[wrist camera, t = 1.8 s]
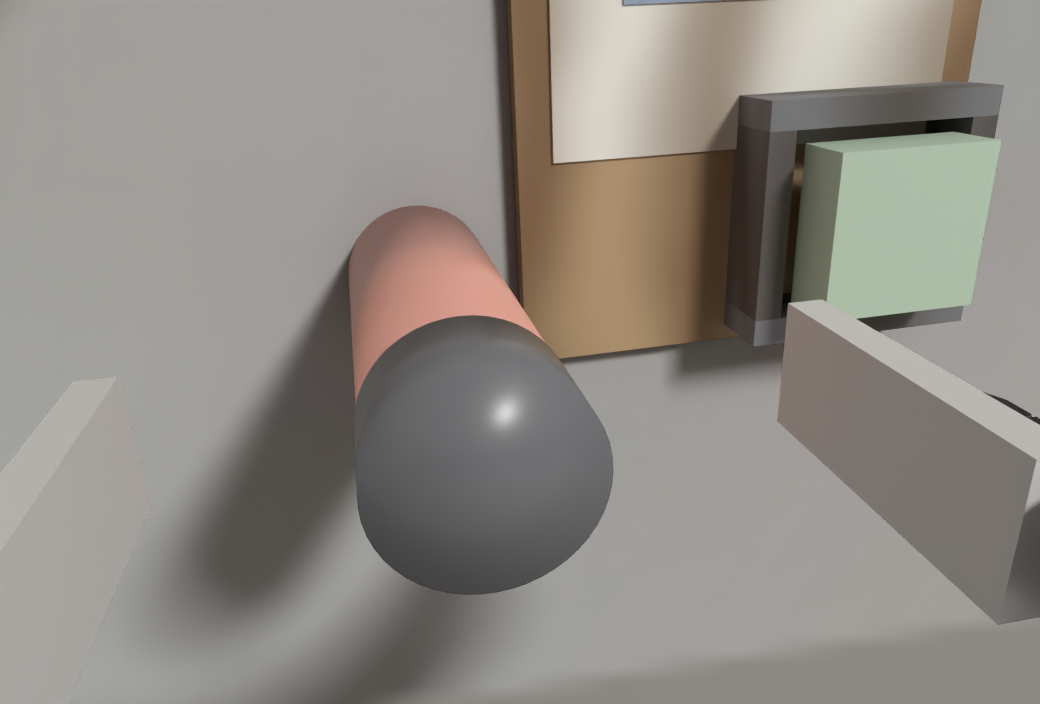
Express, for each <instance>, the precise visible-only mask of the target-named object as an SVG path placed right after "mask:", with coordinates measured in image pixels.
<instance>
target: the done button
mask: <svg viewBox="0 0 1040 704" xmlns="http://www.w3.org/2000/svg"><path fill="white" fill-rule="evenodd" d="M1000 145H1001V140H999V139H993V138H987V137H981V136H976V135H970V134H964V133H958V132H944V133H931V134H918V135H906V136H893V137H880V138H868V139H855V140H842V141H830V142H817V143H806V146H805V157H804V167H803V178H802V188H801V199H800V209H799V220H798V230H797V241H796V252H795V262H794V273H793V283H792V294H791V303H794V302H803V301H812V300H821V299H822V300H824V301H826V302H827V303H829V304H831V305H833V306H834V307H836V308H838V309H840V310H841V311H843V312H845V313H847V314H848V315H850V316H852V317H853V318H855V319H858V318H866V317H874V316H882V315H890V314H899V313H907V312H915V311H923V310H931V309H939V308H947V307H956V306H964V305H971V300H972V295H973V289H974V284H975V279H976V273H977V268H978V263H979V257H980V252H981V247H982V241H983V236H984V231H985V225H986V220H987V215H988V209H989V204H990V198H991V193H992V188H993V182H994V177H995V172H996V166H997V161H998V156H999V150H1000Z"/></svg>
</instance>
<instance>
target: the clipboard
mask: <svg viewBox="0 0 1040 704" xmlns="http://www.w3.org/2000/svg"><path fill="white" fill-rule="evenodd" d="M506 1H507V24H508V47H509V70H510V92H511V115H512V138H513V160H514V183H515V206H516V229H517V251H518V274H519V297H520V305H521V307H522V308H523V310H524V311H525V313H526V314H527V316H528V317H529V319H530V320H531V322H532V323H533V325H534V326H535V328H536V329H537V331H538V332H539V334H540V335H541V337H542V339H543V340H544V342H545V343H546V344H547V345H548V346H549V347H550V348H551V349H552V350H553V352H554V353H555V354H556V355H557V357H558V358H559V359H560V358H569V357H577V356H585V355H593V354H601V353H609V352H617V351H625V350H633V349H641V348H649V347H657V346H666V345H674V344H682V343H690V342H698V341H706V340H714V339H722V338H730V337H738V336H740V337H742V338H743V339H744V340H745V341H747V342H748V343H749V344H751V345H752V346H753V347H755V346H763V345H771V344H779V343H785V332H786V321H787V310H788V303H791V294H792V283H793V273H794V262H795V252H796V241H797V230H798V220H799V209H800V199H801V188H802V178H803V167H804V157H805V146H806V143H817V142H830V141H842V140H855V139H868V138H880V137H893V136H906V135H918V134H931V133H944V132H958V133H964V134H970V135H976V136H981V137H987V138H993V139H994V137H995V131H996V126H997V120H998V115H999V110H1000V104H1001V99H1002V93H1003V88H1004V85H995V84H984V83H973V82H968V79H969V73H970V67H971V61H972V55H973V49H974V43H975V37H976V31H977V25H978V19H979V13H980V7H981V1H982V0H506ZM962 311H963V306H956V307H947V308H939V309H931V310H923V311H915V312H907V313H899V314H890V315H882V316H874V317H866V318H858V319H857V320H859V321H860V322H862V323H864V324H866V325H867V326H869V327H871V328H873V329H874V330H876V331H882V330H890V329H898V328H905V327H913V326H921V325H929V324H937V323H945V322H953V321H961V317H962Z"/></svg>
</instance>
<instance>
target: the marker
mask: <svg viewBox="0 0 1040 704" xmlns="http://www.w3.org/2000/svg"><path fill="white" fill-rule="evenodd" d="M348 274H349V293H350V311H351V330H352V349H353V367H354V386H355V411H354V442H355V464H356V485H357V503H358V511H359V516H360V520H361V524H362V526H363V529H364V531H365V534H366V536H367V538H368V539H369V541H370V543H371V545H372V546H373V548H374V549H375V551H376V552H377V553H378V554H379V555H380V557H381V558H382V559H383V560H384V561H385V562H386V563H387V564H388V565H389V566H390V567H392V568H393V569H394V570H395V571H397V572H398V573H400V574H401V575H403V576H404V577H406V578H407V579H409V580H411V581H413V582H415V583H417V584H419V585H422V586H425V587H428V588H431V589H433V590H438V591H442V592H447V593H454V594H487V593H495V592H500V591H504V590H509V589H513V588H516V587H519V586H521V585H524V584H527V583H529V582H532V581H534V580H536V579H538V578H540V577H542V576H544V575H545V574H547V573H549V572H551V571H552V570H554V569H555V568H557V567H558V566H559V565H561V564H562V563H563V562H565V561H566V560H567V559H569V558H570V557H571V556H572V555H573V554H574V553H575V552H576V551H577V550H578V549H579V548H580V547H581V546H582V545H583V544H584V542H585V541H586V540H587V539H588V538H589V536H590V535H591V533H592V532H593V530H594V529H595V528H596V526H597V525H598V523H599V521H600V519H601V517H602V515H603V513H604V511H605V508H606V505H607V502H608V500H609V496H610V492H611V487H612V481H613V456H612V451H611V446H610V442H609V439H608V436H607V434H606V431H605V429H604V427H603V425H602V423H601V422H600V420H599V418H598V416H597V415H596V413H595V412H594V410H593V409H592V407H591V406H590V404H589V403H588V401H587V400H586V398H585V397H584V395H583V394H582V392H581V391H580V389H579V388H578V386H577V385H576V383H575V382H574V380H573V379H572V377H571V376H570V374H569V373H568V371H567V370H566V368H565V367H564V365H563V364H562V362H561V361H560V359H559V358H558V357H557V355H556V354H555V353H554V352H553V350H552V349H551V348H550V347H549V346H548V345H547V344H546V343H545V342H544V340H543V339H542V337H541V335H540V334H539V332H538V331H537V329H536V328H535V326H534V325H533V323H532V322H531V320H530V319H529V317H528V316H527V314H526V313H525V311H524V310H523V308H522V307H521V305H520V304H519V302H518V301H517V299H516V298H515V296H514V294H513V293H512V291H511V290H510V288H509V287H508V285H507V284H506V282H505V281H504V279H503V278H502V276H501V275H500V273H499V272H498V270H497V269H496V267H495V266H494V264H493V263H492V261H491V260H490V258H489V257H488V255H487V254H486V252H485V250H484V249H483V247H482V246H481V244H480V243H479V241H478V240H477V238H476V237H475V235H474V234H473V233H472V231H471V230H470V229H469V228H468V227H467V226H466V225H465V224H464V223H463V222H462V221H461V220H459V219H458V218H457V217H455V216H453V215H452V214H450V213H448V212H446V211H443V210H441V209H437V208H433V207H428V206H408V207H402V208H398V209H395V210H392V211H390V212H387V213H385V214H383V215H382V216H380V217H379V218H377V219H376V220H374V221H373V222H372V223H371V224H370V225H369V226H368V227H367V228H366V229H365V230H364V231H363V232H362V234H361V235H360V236H359V238H358V240H357V241H356V243H355V245H354V248H353V250H352V253H351V257H350V261H349V270H348Z"/></svg>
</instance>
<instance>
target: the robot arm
mask: <svg viewBox="0 0 1040 704" xmlns="http://www.w3.org/2000/svg"><path fill="white" fill-rule="evenodd" d="M778 422H779V423H780V424H781V425H782V426H783V427H784V428H785V429H787V430H788V431H789V432H790V433H791V434H792V435H793V436H794V437H795V438H796V439H797V440H798V441H800V442H801V443H802V444H803V445H804V446H805V447H806V448H807V449H808V450H809V451H810V452H811V453H812V454H814V455H815V456H816V457H817V458H818V459H819V460H820V461H821V462H822V463H823V464H824V465H825V466H827V467H828V468H829V469H830V470H831V471H832V472H833V473H834V474H835V475H836V476H837V477H838V478H840V479H841V480H842V481H843V482H844V483H845V484H846V485H847V486H848V487H849V488H850V489H851V490H853V491H854V492H855V493H856V494H857V495H858V496H859V497H860V498H861V499H862V500H863V501H864V502H866V503H867V504H868V505H869V506H870V507H871V508H872V509H873V510H874V511H875V512H876V513H877V514H879V515H880V516H881V517H882V518H883V519H884V520H885V521H886V522H887V523H888V524H889V525H890V526H892V527H893V528H894V529H895V530H896V531H897V532H898V533H899V534H900V535H901V536H902V537H903V538H905V539H906V540H907V541H908V542H909V543H910V544H911V545H912V546H913V547H914V548H915V549H916V550H917V551H919V552H920V553H921V554H922V555H923V556H924V557H925V558H926V559H927V560H928V561H929V562H930V563H932V564H933V565H934V566H935V567H936V568H937V569H938V570H939V571H940V572H941V573H942V574H943V575H945V576H946V577H947V578H948V579H949V580H950V581H951V582H952V583H953V584H954V585H955V586H956V587H958V588H959V589H960V590H961V591H962V592H963V593H964V594H965V595H966V596H967V597H968V598H969V599H971V600H972V601H973V602H974V603H975V604H976V605H977V606H978V607H979V608H980V609H981V610H982V611H984V612H985V613H986V614H987V615H988V616H989V617H990V618H991V619H992V620H993V621H994V622H995V623H997V624H998V625H1000V624H1005V623H1010V622H1016V621H1021V620H1026V619H1032V618H1037V617H1040V419H1039V418H1037V417H1032V416H1031V414H1030V413H1029V412H1027V411H1025V410H1023V409H1021V408H1020V407H1018V406H1016V405H1014V404H1013V403H1011V402H1009V401H1007V400H1005V399H1002V398H999V397H996V396H993V395H990V394H987V393H984V392H982V391H980V390H978V389H977V388H975V387H973V386H971V385H970V384H968V383H966V382H964V381H963V380H961V379H959V378H957V377H956V376H954V375H952V374H951V373H949V372H947V371H945V370H944V369H942V368H940V367H938V366H937V365H935V364H933V363H931V362H930V361H928V360H926V359H925V358H923V357H921V356H919V355H918V354H916V353H914V352H912V351H911V350H909V349H907V348H905V347H904V346H902V345H900V344H899V343H897V342H895V341H893V340H892V339H890V338H888V337H886V336H885V335H883V334H881V333H879V332H878V331H876V330H874V329H873V328H871V327H869V326H867V325H866V324H864V323H862V322H860V321H859V320H857V319H855V318H853V317H852V316H850V315H848V314H847V313H845V312H843V311H841V310H840V309H838V308H836V307H834V306H833V305H831V304H829V303H827V302H826V301H824V300H822V299H821V300H812V301H803V302H794V303H788V310H787V321H786V332H785V343H784V354H783V365H782V377H781V388H780V399H779V410H778ZM150 508H151V503H150V499H149V495H148V491H147V487H146V483H145V479H144V475H143V471H142V468H141V464H140V460H139V456H138V452H137V448H136V444H135V440H134V436H133V433H132V429H131V425H130V421H129V417H128V413H127V409H126V405H125V402H124V398H123V394H122V390H121V386H120V382H119V378H118V377H111V378H102V379H93V380H84V381H75V382H72V384H71V385H70V386H69V387H68V389H67V390H66V391H65V392H64V394H63V395H62V396H61V397H60V399H59V400H58V401H57V402H56V404H55V405H54V406H53V408H52V409H51V410H50V411H49V413H48V414H47V415H46V416H45V418H44V419H43V420H42V421H41V423H40V424H39V425H38V427H37V428H36V429H35V430H34V432H33V433H32V434H31V435H30V437H29V438H28V439H27V440H26V442H25V443H24V444H23V445H22V447H21V448H20V449H19V451H18V452H17V453H16V454H15V456H14V457H13V458H12V459H11V461H10V462H9V463H8V464H7V466H6V467H5V468H4V470H3V471H2V472H1V473H0V704H68V702H69V700H70V698H71V695H72V693H73V690H74V688H75V686H76V683H77V681H78V679H79V676H80V674H81V671H82V669H83V667H84V664H85V662H86V660H87V657H88V655H89V652H90V650H91V648H92V645H93V643H94V641H95V638H96V636H97V634H98V631H99V629H100V626H101V624H102V622H103V619H104V617H105V615H106V612H107V610H108V607H109V605H110V603H111V600H112V598H113V596H114V593H115V591H116V588H117V586H118V584H119V581H120V579H121V577H122V574H123V572H124V569H125V567H126V565H127V562H128V560H129V558H130V555H131V553H132V550H133V548H134V546H135V543H136V541H137V539H138V536H139V534H140V531H141V529H142V527H143V524H144V522H145V520H146V517H147V515H148V512H149V510H150Z"/></svg>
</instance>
